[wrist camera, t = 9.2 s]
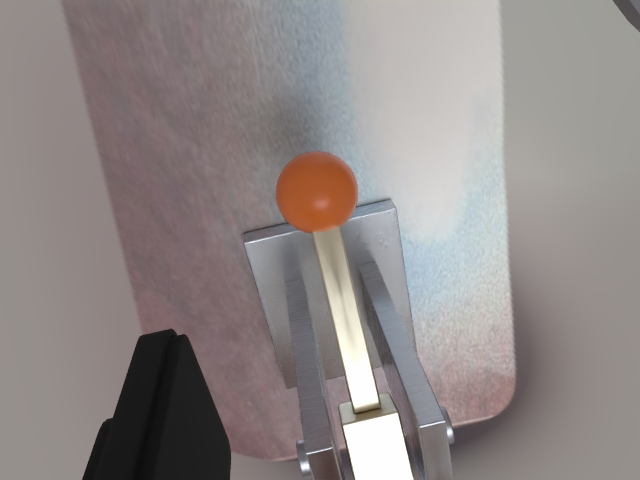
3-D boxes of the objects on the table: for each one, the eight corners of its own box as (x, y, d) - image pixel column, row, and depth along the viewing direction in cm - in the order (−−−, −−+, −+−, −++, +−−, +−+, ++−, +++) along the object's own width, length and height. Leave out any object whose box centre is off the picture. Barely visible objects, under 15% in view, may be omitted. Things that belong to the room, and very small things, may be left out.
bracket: (243, 232, 29) (241, 404, 18) (390, 198, 29) (483, 347, 18) (285, 376, 34) (305, 586, 22) (412, 346, 34) (497, 539, 22)
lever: (270, 166, 23) (264, 156, 20) (344, 149, 23) (351, 136, 20) (340, 468, 23) (345, 506, 20) (414, 450, 23) (431, 485, 20)
